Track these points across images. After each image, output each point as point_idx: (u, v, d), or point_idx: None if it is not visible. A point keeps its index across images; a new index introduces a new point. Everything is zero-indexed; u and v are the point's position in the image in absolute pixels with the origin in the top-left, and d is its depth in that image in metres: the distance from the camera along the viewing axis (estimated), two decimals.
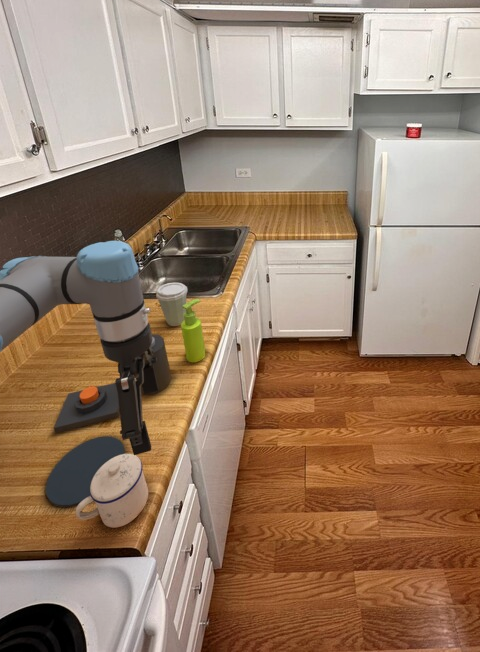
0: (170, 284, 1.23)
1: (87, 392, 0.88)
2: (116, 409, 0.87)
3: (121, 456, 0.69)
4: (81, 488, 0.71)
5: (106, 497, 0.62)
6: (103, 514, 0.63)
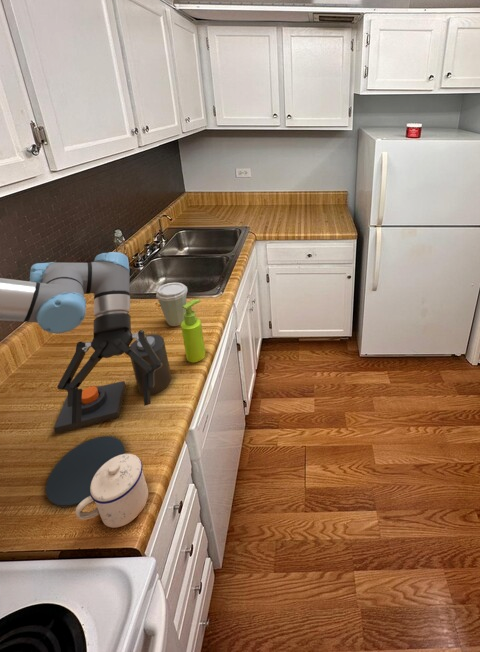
0: (170, 284, 1.23)
1: (87, 392, 0.88)
2: (116, 409, 0.87)
3: (121, 456, 0.69)
4: (81, 488, 0.71)
5: (106, 497, 0.62)
6: (103, 514, 0.63)
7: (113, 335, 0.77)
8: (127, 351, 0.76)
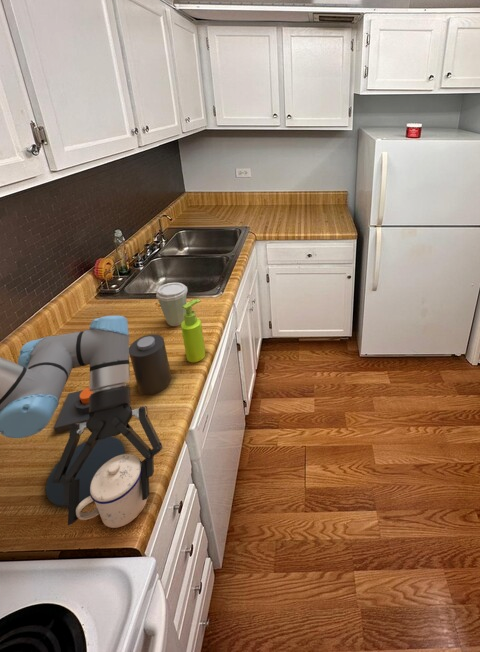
0: (170, 284, 1.23)
1: (87, 392, 0.88)
2: None
3: (121, 456, 0.69)
4: (81, 488, 0.71)
5: (106, 497, 0.62)
6: (103, 514, 0.63)
7: (111, 412, 0.69)
8: (125, 433, 0.68)
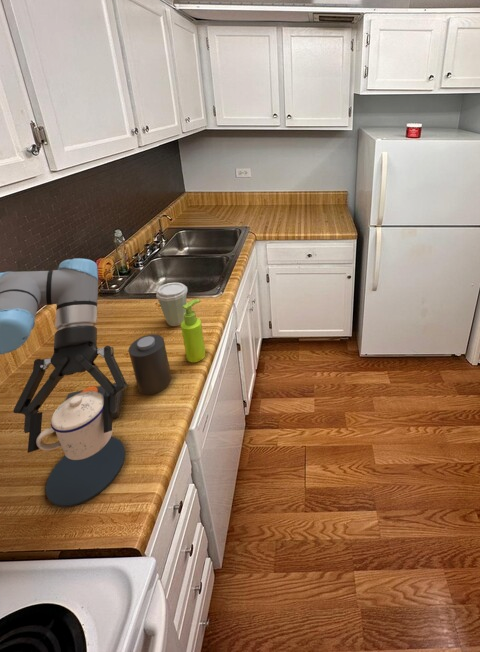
0: (170, 284, 1.23)
1: None
2: None
3: (85, 393, 0.69)
4: (81, 488, 0.71)
5: (66, 426, 0.62)
6: (64, 445, 0.64)
7: (76, 350, 0.70)
8: (89, 369, 0.69)
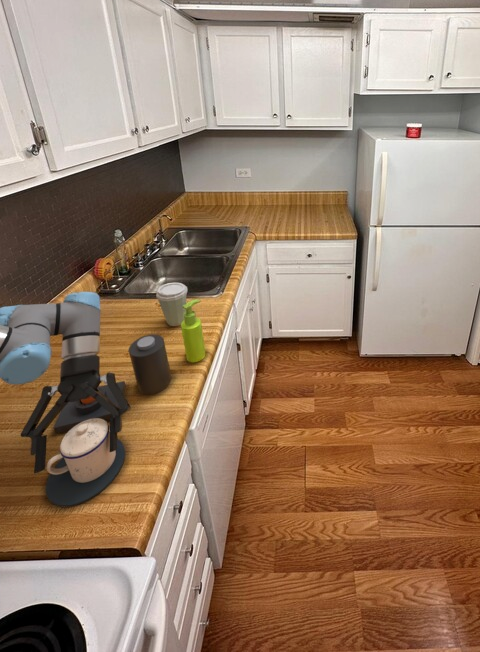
0: (170, 284, 1.23)
1: None
2: None
3: (90, 420, 0.76)
4: (81, 488, 0.71)
5: (73, 453, 0.69)
6: (72, 469, 0.70)
7: (80, 378, 0.76)
8: (94, 395, 0.75)
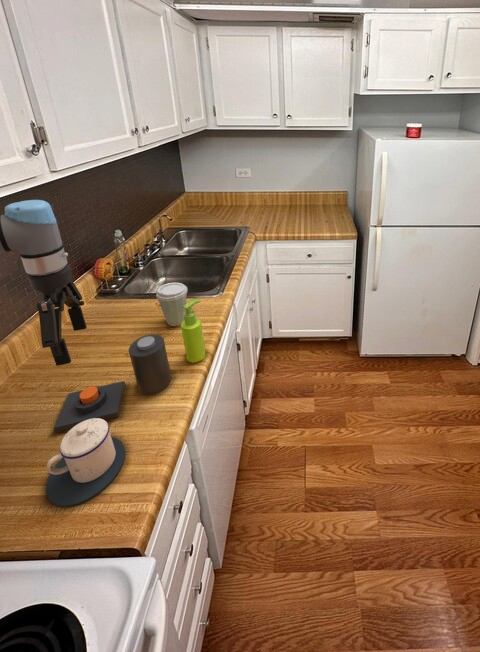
0: (170, 284, 1.23)
1: (87, 392, 0.88)
2: (116, 409, 0.87)
3: (90, 420, 0.76)
4: (81, 488, 0.71)
5: (73, 453, 0.69)
6: (72, 469, 0.70)
7: None
8: None
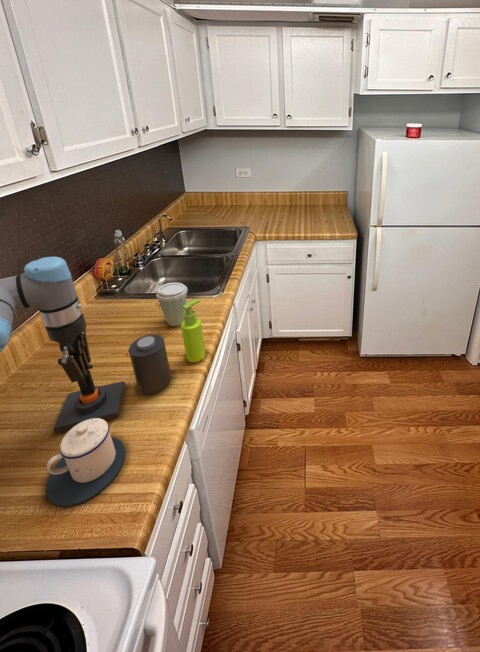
0: (170, 284, 1.23)
1: None
2: (116, 409, 0.87)
3: (90, 420, 0.76)
4: (81, 488, 0.71)
5: (73, 453, 0.69)
6: (72, 469, 0.70)
7: None
8: None
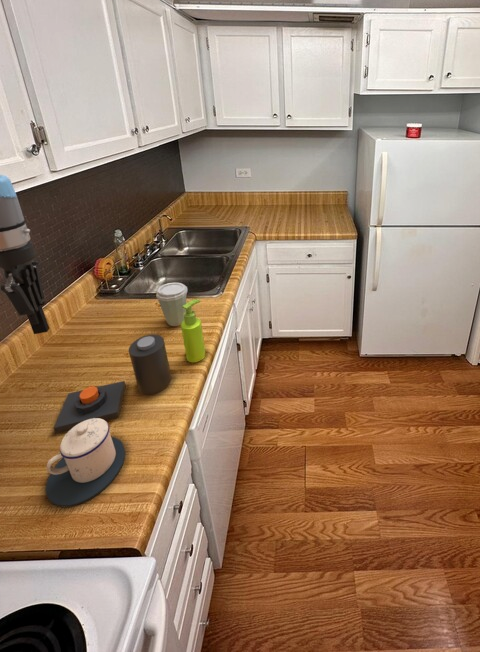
0: (170, 284, 1.23)
1: (87, 392, 0.88)
2: (116, 409, 0.87)
3: (90, 420, 0.76)
4: (81, 488, 0.71)
5: (73, 453, 0.69)
6: (72, 469, 0.70)
7: None
8: None
